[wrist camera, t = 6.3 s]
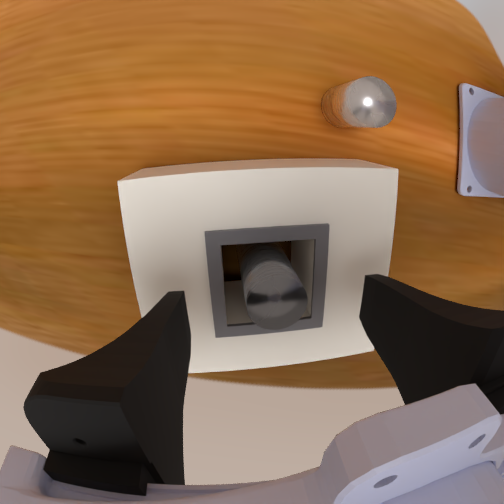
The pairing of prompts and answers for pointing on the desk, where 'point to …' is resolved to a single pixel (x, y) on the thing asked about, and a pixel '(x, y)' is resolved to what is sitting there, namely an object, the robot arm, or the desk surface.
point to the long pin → (270, 285)
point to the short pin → (360, 103)
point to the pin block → (258, 231)
